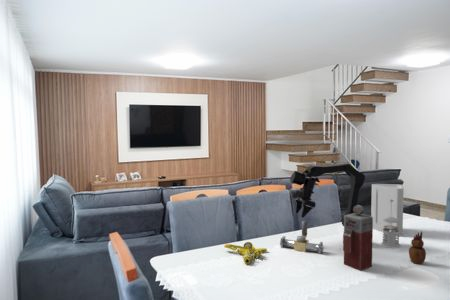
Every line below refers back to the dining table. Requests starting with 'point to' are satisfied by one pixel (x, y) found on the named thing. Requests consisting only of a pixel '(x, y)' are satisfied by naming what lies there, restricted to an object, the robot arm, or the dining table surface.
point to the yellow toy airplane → (247, 251)
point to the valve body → (301, 245)
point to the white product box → (387, 205)
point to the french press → (393, 235)
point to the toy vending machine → (358, 239)
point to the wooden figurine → (417, 250)
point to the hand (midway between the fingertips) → (299, 215)
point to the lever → (303, 232)
